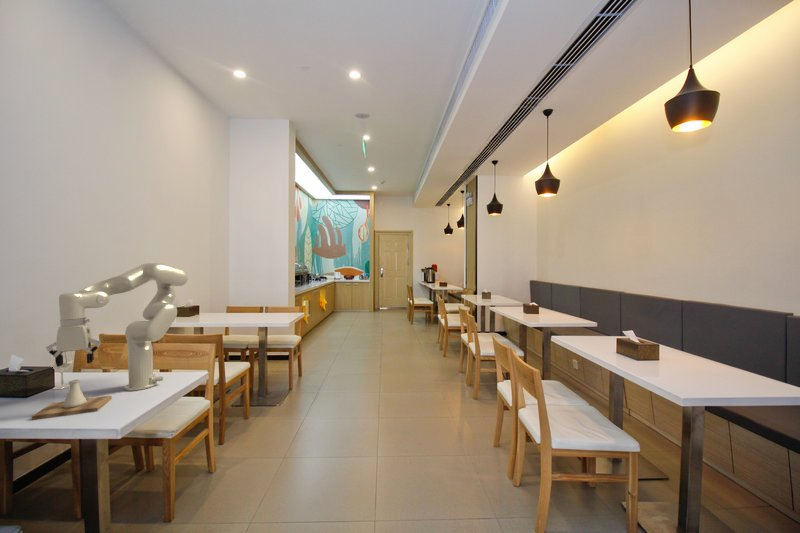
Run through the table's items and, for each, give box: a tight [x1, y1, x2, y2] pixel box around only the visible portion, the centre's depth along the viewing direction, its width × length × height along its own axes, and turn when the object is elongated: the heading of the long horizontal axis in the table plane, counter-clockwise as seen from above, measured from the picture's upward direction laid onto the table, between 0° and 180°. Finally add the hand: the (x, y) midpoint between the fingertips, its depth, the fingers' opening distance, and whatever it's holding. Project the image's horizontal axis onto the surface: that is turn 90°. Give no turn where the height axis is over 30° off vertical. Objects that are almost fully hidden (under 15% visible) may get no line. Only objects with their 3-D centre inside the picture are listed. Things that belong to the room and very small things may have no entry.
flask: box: [62, 378, 87, 408], centre depth 142 cm, size 7×7×10 cm
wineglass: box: [49, 349, 74, 390], centre depth 169 cm, size 8×8×18 cm
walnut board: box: [31, 395, 113, 421], centre depth 142 cm, size 20×14×2 cm
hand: (75, 364), depth 143 cm, fingers open, 9 cm apart
